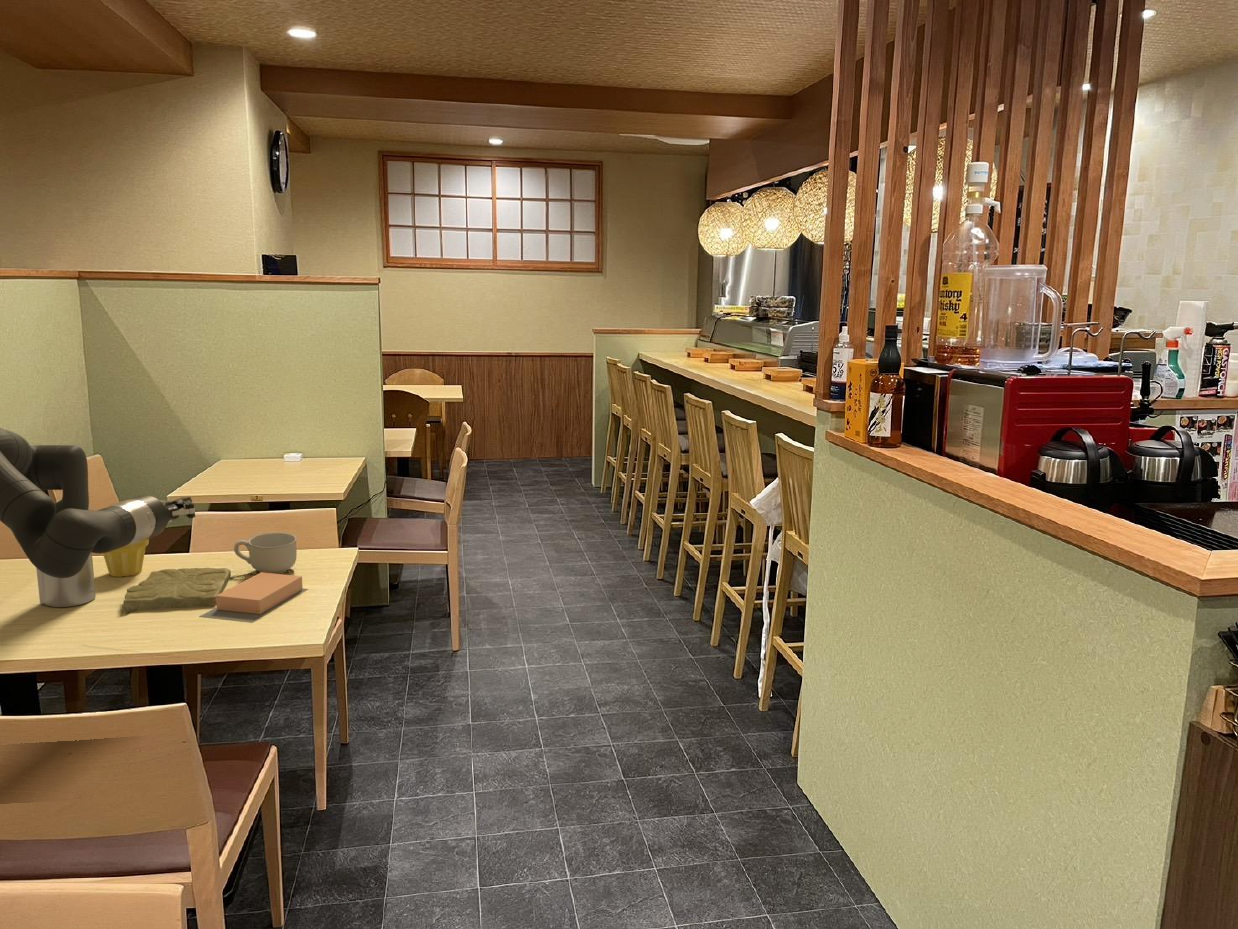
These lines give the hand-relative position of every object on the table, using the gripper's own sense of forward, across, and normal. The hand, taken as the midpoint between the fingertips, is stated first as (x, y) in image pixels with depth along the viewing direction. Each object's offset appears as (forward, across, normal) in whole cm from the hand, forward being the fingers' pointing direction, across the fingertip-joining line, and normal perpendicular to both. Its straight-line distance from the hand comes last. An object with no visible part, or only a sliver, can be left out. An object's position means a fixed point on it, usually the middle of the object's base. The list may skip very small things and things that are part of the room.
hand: (187, 502), depth 169 cm
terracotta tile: (+11, +2, -24) cm, 26 cm away
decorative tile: (+20, -16, -24) cm, 36 cm away
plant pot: (+32, -36, -22) cm, 53 cm away
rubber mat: (+17, +3, -25) cm, 31 cm away
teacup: (+39, -5, -24) cm, 46 cm away
